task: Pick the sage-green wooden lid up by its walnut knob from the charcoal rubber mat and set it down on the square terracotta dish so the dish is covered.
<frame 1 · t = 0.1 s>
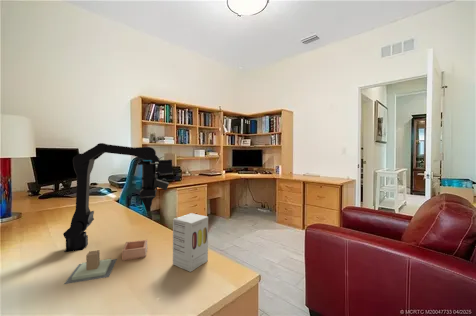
hand: (149, 208, 97), 15 cm above the table, fingers open, 9 cm apart
dish: (135, 254, 83), on the table
mat: (93, 271, 72), on the table
supplement box: (190, 263, 78), on the table
lid: (93, 270, 72), resting on mat
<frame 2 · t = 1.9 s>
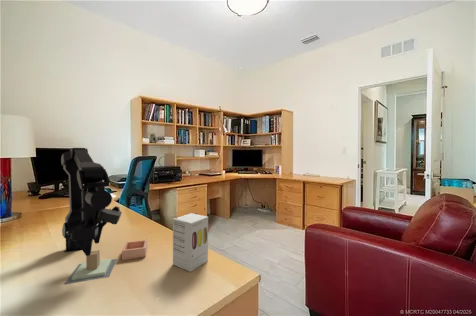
hand: (92, 248, 72), 8 cm above the table, fingers open, 9 cm apart
nothing on the table moved.
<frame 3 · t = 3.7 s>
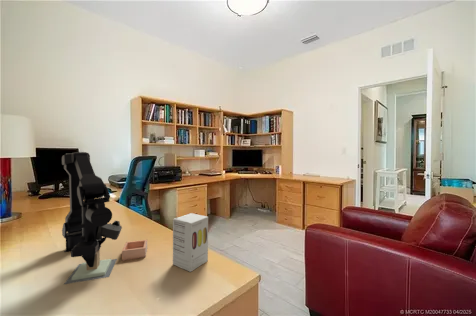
hand: (93, 264, 72), 2 cm above the table, fingers closed on lid, 3 cm apart
lid: (93, 270, 72), resting on mat, touching gripper
everything else where it was.
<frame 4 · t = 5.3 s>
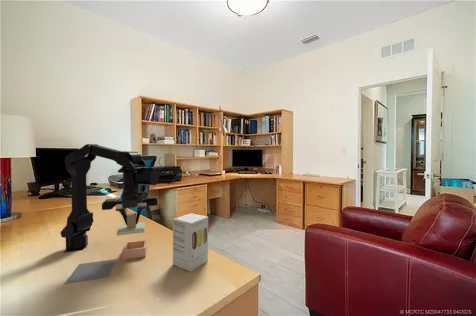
hand: (131, 224, 82), 13 cm above the table, fingers closed on lid, 3 cm apart
lid: (131, 229, 82), point 11 cm above the table, touching gripper
everything else where it was.
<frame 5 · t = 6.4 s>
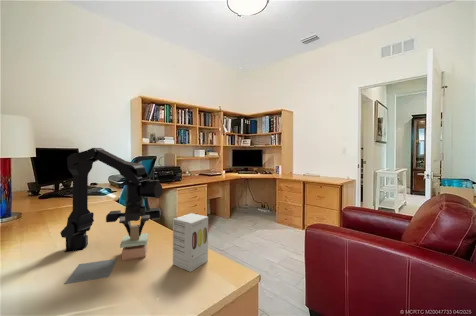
hand: (135, 236, 83), 8 cm above the table, fingers closed on lid, 3 cm apart
lid: (135, 241, 83), point 5 cm above the table, touching gripper
everything else where it was.
when the fingers open (7 cm above the table, at t = 6.9 s): lid drops 1 cm, resting on dish.
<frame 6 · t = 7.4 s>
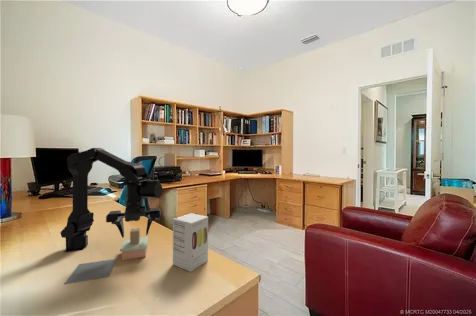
hand: (135, 236, 83), 7 cm above the table, fingers open, 8 cm apart
lid: (135, 245, 83), point 4 cm above the table, touching dish
everything else where it was.
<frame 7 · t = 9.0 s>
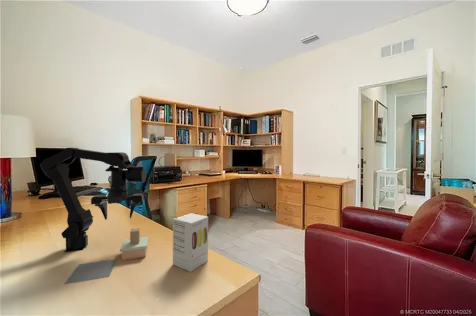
hand: (118, 218, 90), 12 cm above the table, fingers open, 9 cm apart
nothing on the table moved.
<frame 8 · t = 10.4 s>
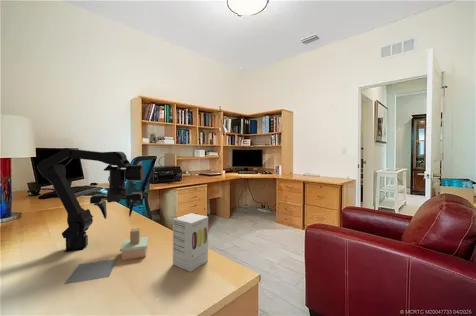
hand: (117, 217, 90), 13 cm above the table, fingers open, 9 cm apart
nothing on the table moved.
at the end: lid 0.1 cm off-centre on the dish, point 4.0 cm above the dish's base; lid tilted 0°; the gripper is holding nothing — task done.
